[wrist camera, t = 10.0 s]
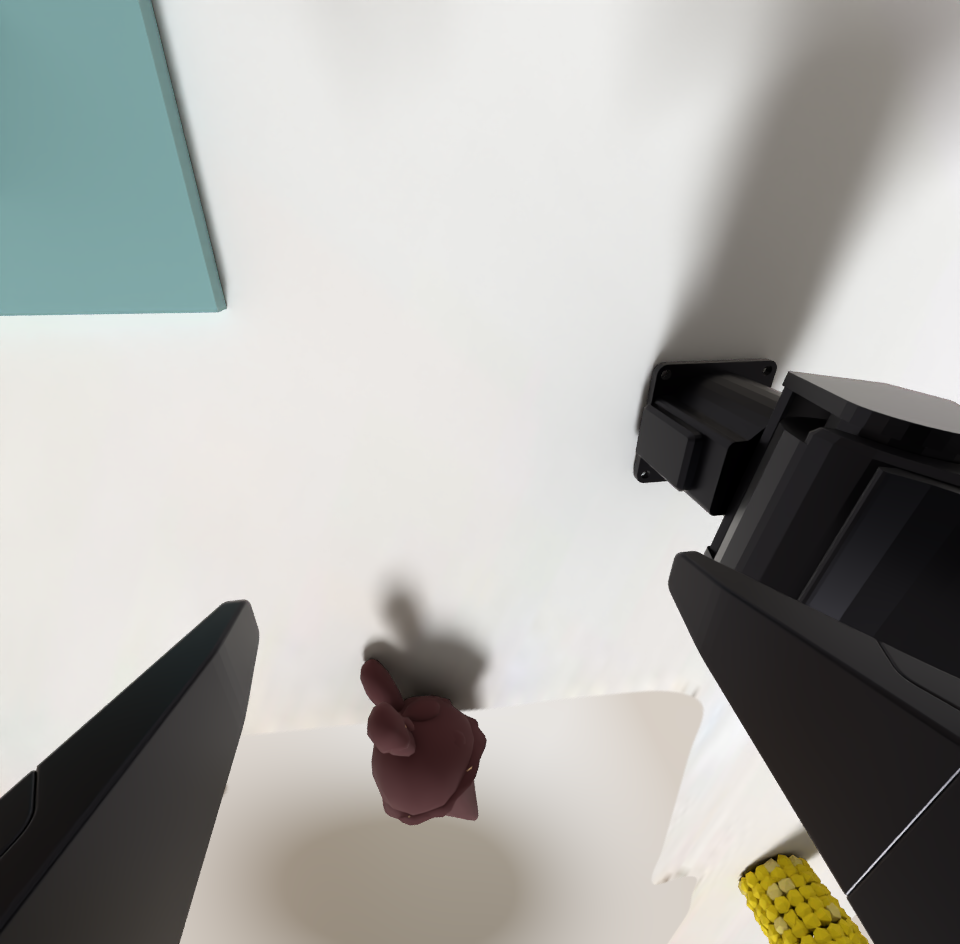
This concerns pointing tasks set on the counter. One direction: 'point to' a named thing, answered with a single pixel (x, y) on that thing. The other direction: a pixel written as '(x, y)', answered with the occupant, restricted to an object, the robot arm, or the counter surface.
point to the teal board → (95, 167)
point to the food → (796, 905)
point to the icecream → (421, 752)
